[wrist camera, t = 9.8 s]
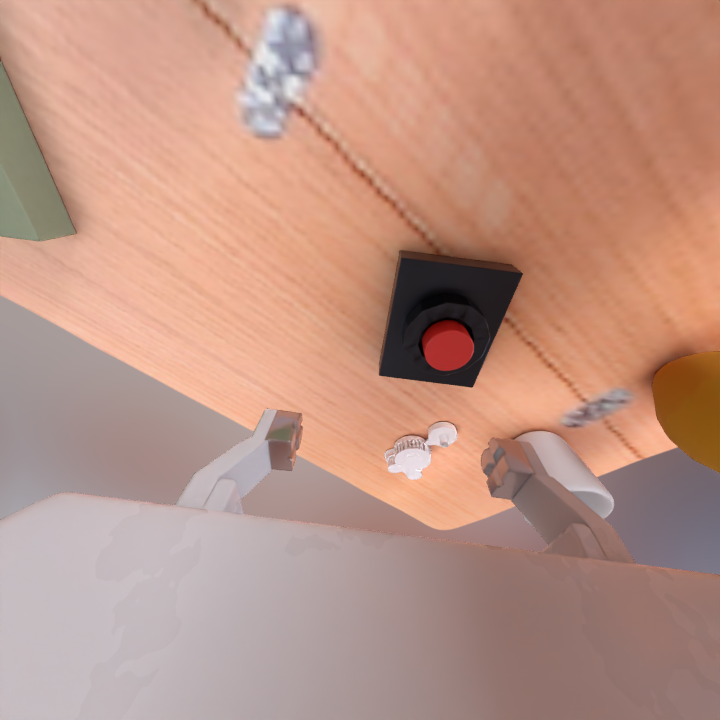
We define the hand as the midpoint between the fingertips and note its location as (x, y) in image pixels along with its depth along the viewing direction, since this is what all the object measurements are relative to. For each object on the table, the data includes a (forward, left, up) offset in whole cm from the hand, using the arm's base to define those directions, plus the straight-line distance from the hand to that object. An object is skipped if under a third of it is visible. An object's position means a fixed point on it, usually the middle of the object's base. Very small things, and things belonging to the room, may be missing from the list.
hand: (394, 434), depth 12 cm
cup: (+16, +19, -15) cm, 29 cm away
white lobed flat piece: (+19, +7, -15) cm, 26 cm away
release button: (+1, +5, -12) cm, 12 cm away
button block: (+1, +5, -15) cm, 16 cm away
